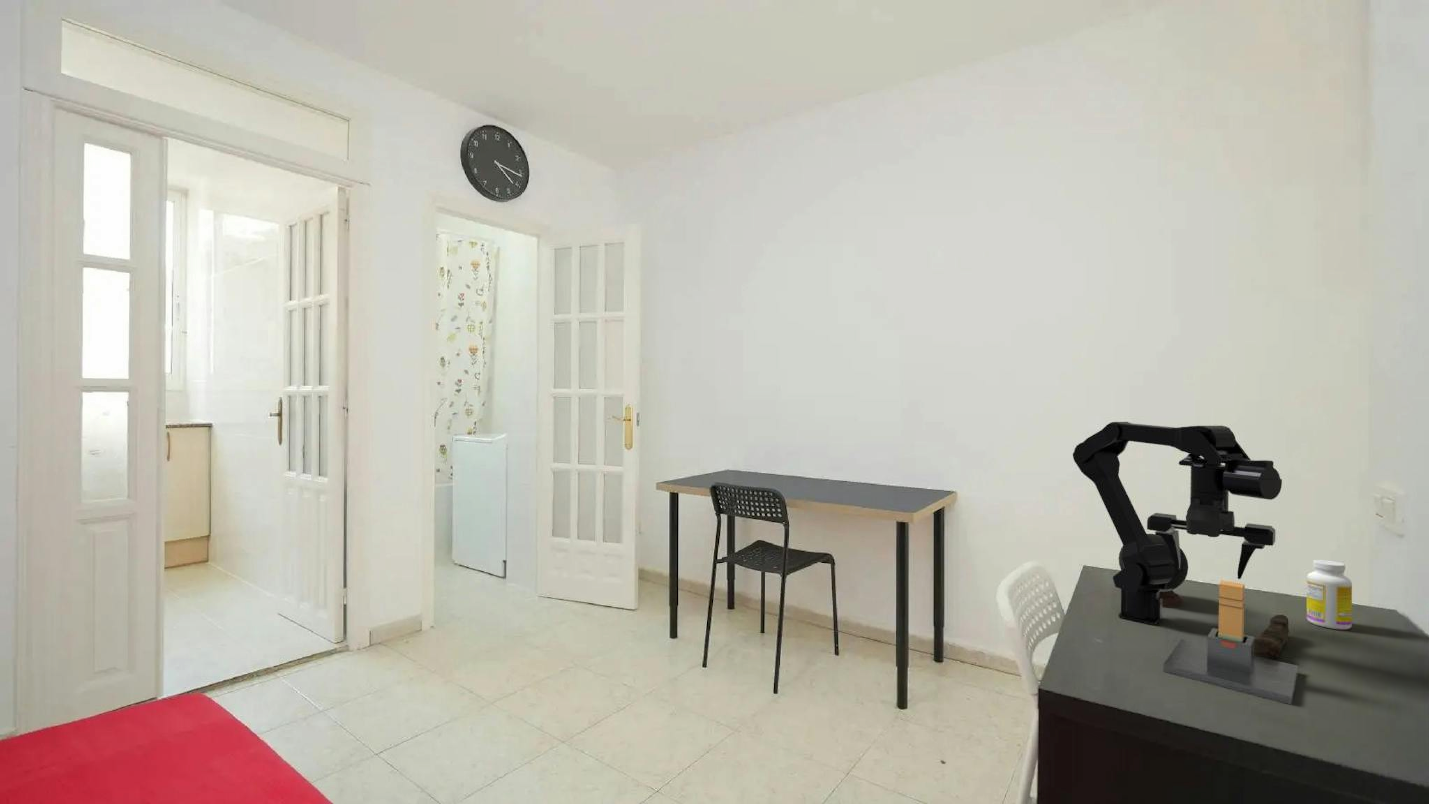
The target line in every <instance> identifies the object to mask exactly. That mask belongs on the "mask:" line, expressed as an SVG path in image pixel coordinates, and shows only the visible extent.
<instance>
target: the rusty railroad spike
mask: <svg viewBox="0 0 1429 804" xmlns="http://www.w3.org/2000/svg"><path fill="white" fill-rule="evenodd" d="M1289 633H1290V630H1289V619H1288V616H1286V615H1285V614H1276V615H1274V616H1272V617H1271V618H1270V619H1269V623H1268V626H1267V627H1266V628H1265V629H1264V631H1262V633H1260V635H1259V636H1258V637H1257V638H1255V646H1254V656H1257V657H1262V658H1266V659H1270V660H1275V661H1278V660H1279V656H1280V653H1281V651H1282V650H1283V647H1284V645H1287V644H1288V641H1289Z"/></svg>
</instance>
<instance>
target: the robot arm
mask: <svg viewBox="0 0 1429 804" xmlns="http://www.w3.org/2000/svg"><path fill="white" fill-rule="evenodd" d="M1129 442H1134V443H1143V444H1149V445H1151V444H1152V445H1160V446H1167V447H1172V448H1175V449H1177V450H1179V451H1180V452H1183V453H1187V455H1186V457H1184V458H1182V459H1181V460H1179V461H1178V465H1179V466H1184V467H1185V466H1186V467H1190V487H1189V488H1190V490H1189V491H1190V496H1189V497H1190V498H1189V500H1190V502H1189V506H1188V508H1187V511H1186V515H1185V520H1184V519H1178V518H1177V515H1176V514H1169V513H1161V512H1155V513H1153V514H1151V515H1150V516H1148V517H1147V521H1146V529H1147V530H1148V531H1154V534H1156V535H1160V536H1161V537H1162V538H1163V539H1164V540H1165V542H1166V544H1167V546H1168V548H1169V550H1170V552H1171V555H1172V558H1173V560H1174V561H1173V560H1172V559H1171V557H1170V556H1169V553H1168V550H1167V548H1166V546H1165V545H1164V544H1160V545H1156V544H1155V543H1153V542H1152V541H1151V540H1150V539H1149V538H1148V536H1147V534H1148V533H1147V532H1146V530H1145V528H1144V526H1143V523H1142V522H1141V520H1140V518H1139V515H1138V512H1137V511H1136V509H1135V508H1134V505H1133V503H1132V501H1131V499H1130V497H1129V495H1128V492H1127V491H1126V489H1125V486H1124V485H1123V483H1122V480H1121V478H1120V475H1119V474H1120V465H1121V462H1120V461H1119V457H1118V456H1120V455H1121V454H1123V452H1124V451H1125V450H1126V448H1127V446H1128V443H1129ZM1073 451H1074V452H1073V453H1072V458H1073V461H1074V463H1075V464H1076V466H1077V468H1078V469H1079V470H1080V472H1081V473H1082V474H1083V475H1084V476H1085V477H1086V478H1088V479H1089V480H1090V481H1091V482H1092V483H1093V484H1094V485H1095V487H1096V490H1097V492H1098V495H1099V496H1100V498H1101V500H1102V503H1103V504H1104V507H1105V509H1106V511H1107V513H1108V515H1109V517H1110V520H1111V522H1112V524H1113V527H1114V529H1115V531H1116V532H1117V535H1118V537H1119V539H1120V541H1121V543H1122V547H1123V552H1122V562H1123V565H1124V569H1123V570H1121V569H1120V571H1118V572H1117V573H1116V574H1115V575H1114V576H1112V579H1113V583H1114V586H1115V588H1117V589H1120V612H1119V613H1118V617H1119V618H1120V619H1121V618H1122V619H1127V620H1131V621H1134V622H1140V623H1144V624H1149V625H1153V626H1154V625H1156V624H1158V622H1159V621H1160V620H1162V618H1163V607H1162V606H1163V599H1162V598H1159V590H1165V589H1166V587H1167V584H1168V582H1170V581H1171V579H1172V578H1173V575H1174V574H1175V571H1174V567H1173V565H1172V564H1175V566H1176V568H1177V569H1180V562H1181V558H1180V548H1181V547H1180V534H1179V530H1182V531H1186V533H1187V534H1189V535H1192V536H1193V535H1194V536H1196V535H1200V536H1207V537H1209V538H1217V537H1219V536H1221V535H1222V536H1230V537H1237V538H1243V540H1244V541H1243V542H1241V550H1240V554H1239V555H1240V556H1239V561H1238V566H1237V579H1238V580H1241V579H1242V576H1243V575H1244V572H1245V570H1246V568H1247V566H1248V564H1249V561H1250V558H1251V557H1252V555H1253V554H1254V553H1255V550H1257V549H1258V550H1263V549H1264V548H1265V547H1266V546H1267V547H1268V546H1271V547H1273V546H1274V545H1275V543H1276V528H1274V527H1273V526H1272V525H1265V524H1258V523H1249V522H1247V523H1246V525H1245V526H1236V525H1235V524H1236V523H1235V513H1234V511H1233V510H1231V511H1230V510H1229V500H1230V499H1229V497H1230V495H1229V493H1230V494H1231V495H1232V496H1233V495H1234V496H1241V497H1247V498H1253V499H1254V498H1255V499H1263V500H1270V501H1272V500H1274V499H1276V498H1277V497H1278V496H1279V494H1280V493H1281V490H1282V485H1283V481H1282V478H1281V476H1280V473H1279V471H1278V470H1277V469H1276V468H1275V467H1274V461H1273V460H1269V459H1268V460H1266V459H1264V460H1263V459H1261V460H1260V459H1259V460H1255V459H1251V458H1250V457H1249V455H1248V453H1246V451H1245V450H1244V449H1243V448H1242V447H1241V445H1240V444H1239V443H1238V441H1237V439H1236V436H1235V434H1234V432H1233V431H1232V430H1231V428H1230V427H1229V426H1225V425H1192V426H1191V425H1190V426H1188V425H1187V426H1179V427H1175V426H1174V427H1173V426H1166V425H1165V426H1161V425H1151V424H1142V423H1141V424H1140V423H1132V422H1128V421H1112V422H1111V421H1110V422H1109V423H1108V424H1106V425H1105V426H1104V427H1103V428H1102V429H1101V430H1099V431H1097V432H1096V433H1094V434H1092V435H1090V436H1088V437H1087V438H1086V439H1085V440H1084V441H1082V442H1080V443H1078V444H1077V445H1076V446H1075V448H1074V450H1073Z"/></svg>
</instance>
